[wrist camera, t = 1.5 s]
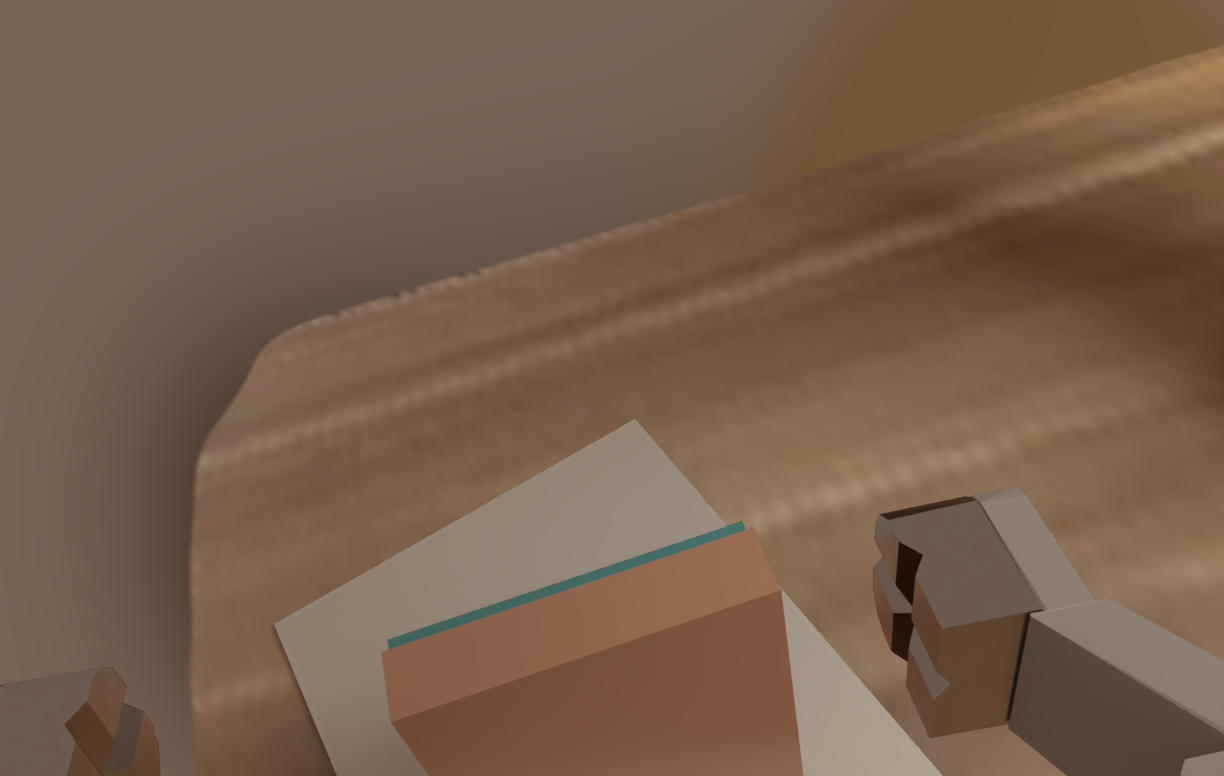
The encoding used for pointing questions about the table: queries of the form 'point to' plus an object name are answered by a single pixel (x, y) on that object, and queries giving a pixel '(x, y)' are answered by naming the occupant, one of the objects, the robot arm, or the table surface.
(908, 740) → the mat
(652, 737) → the tile
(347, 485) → the table surface
